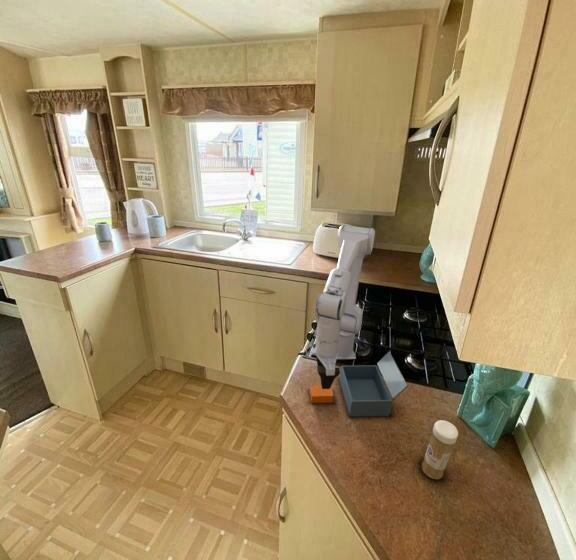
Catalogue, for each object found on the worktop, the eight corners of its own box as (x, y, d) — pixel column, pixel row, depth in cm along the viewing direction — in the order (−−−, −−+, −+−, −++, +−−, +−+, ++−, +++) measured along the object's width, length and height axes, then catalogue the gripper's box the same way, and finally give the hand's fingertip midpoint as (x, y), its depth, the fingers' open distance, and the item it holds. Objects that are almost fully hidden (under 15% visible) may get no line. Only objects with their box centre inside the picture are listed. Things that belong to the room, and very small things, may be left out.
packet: (311, 402, 87) (312, 396, 86) (309, 392, 91) (310, 385, 90) (332, 402, 87) (333, 396, 86) (330, 391, 91) (331, 385, 90)
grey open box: (339, 379, 96) (341, 365, 93) (374, 379, 96) (376, 365, 94) (349, 416, 83) (351, 401, 81) (389, 415, 84) (392, 400, 81)
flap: (389, 351, 92) (390, 352, 92) (376, 363, 93) (377, 363, 94) (407, 385, 79) (408, 386, 79) (392, 398, 81) (393, 399, 81)
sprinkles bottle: (417, 464, 71) (429, 422, 66) (433, 458, 73) (446, 416, 67) (431, 483, 68) (446, 440, 62) (448, 476, 69) (464, 434, 63)
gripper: (309, 321, 86) (306, 360, 92) (315, 354, 73) (312, 398, 79) (334, 321, 87) (330, 360, 92) (345, 354, 74) (340, 397, 79)
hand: (323, 377), depth 86 cm, fingers open, 7 cm apart
